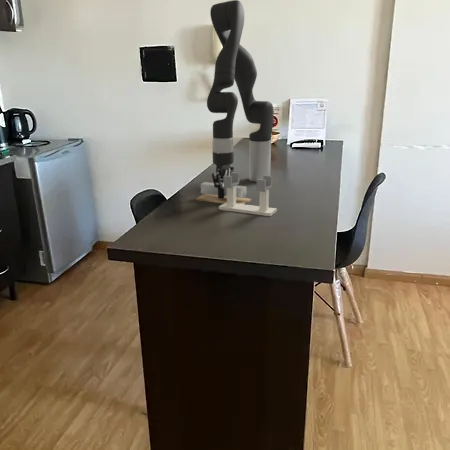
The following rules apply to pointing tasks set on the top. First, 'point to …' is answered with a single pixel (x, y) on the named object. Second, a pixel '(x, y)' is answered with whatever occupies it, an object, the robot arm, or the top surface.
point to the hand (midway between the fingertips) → (223, 196)
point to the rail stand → (231, 204)
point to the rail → (210, 189)
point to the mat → (218, 200)
